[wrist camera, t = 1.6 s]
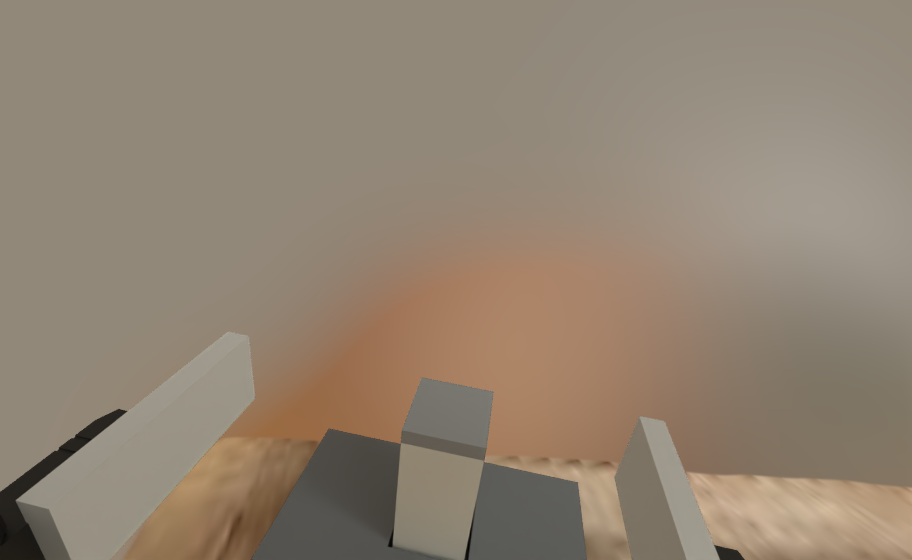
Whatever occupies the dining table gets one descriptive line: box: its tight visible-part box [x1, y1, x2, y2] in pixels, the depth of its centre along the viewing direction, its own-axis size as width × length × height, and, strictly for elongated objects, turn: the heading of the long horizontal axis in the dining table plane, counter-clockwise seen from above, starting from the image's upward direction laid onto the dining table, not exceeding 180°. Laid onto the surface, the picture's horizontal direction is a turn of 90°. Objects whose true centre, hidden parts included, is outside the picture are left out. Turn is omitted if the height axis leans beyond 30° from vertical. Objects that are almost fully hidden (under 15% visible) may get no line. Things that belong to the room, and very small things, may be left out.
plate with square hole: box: [251, 429, 587, 560], centre depth 32 cm, size 22×12×4 cm, turn 81°
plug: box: [392, 378, 493, 560], centre depth 30 cm, size 5×5×14 cm
